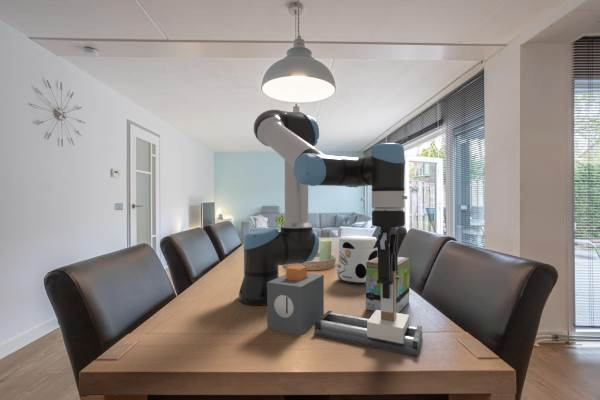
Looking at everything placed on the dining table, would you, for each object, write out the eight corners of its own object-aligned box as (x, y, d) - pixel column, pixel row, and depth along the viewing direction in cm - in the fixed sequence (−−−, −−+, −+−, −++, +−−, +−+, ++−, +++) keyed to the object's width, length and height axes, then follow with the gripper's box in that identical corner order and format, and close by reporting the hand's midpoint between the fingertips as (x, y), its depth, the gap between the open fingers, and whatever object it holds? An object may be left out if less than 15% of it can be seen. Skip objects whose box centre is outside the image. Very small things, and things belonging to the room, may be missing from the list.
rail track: (314, 334, 76) (314, 322, 76) (329, 320, 85) (329, 309, 85) (417, 356, 65) (417, 342, 65) (422, 338, 74) (422, 325, 74)
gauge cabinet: (266, 328, 80) (266, 282, 80) (293, 311, 93) (292, 271, 93) (300, 336, 76) (300, 287, 76) (323, 316, 88) (323, 274, 88)
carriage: (366, 336, 71) (366, 274, 71) (376, 322, 79) (376, 266, 79) (403, 343, 67) (402, 277, 67) (409, 328, 75) (409, 269, 75)
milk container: (328, 281, 127) (327, 237, 127) (354, 274, 139) (353, 234, 139) (362, 290, 115) (362, 241, 115) (388, 281, 126) (388, 237, 126)
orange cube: (286, 282, 83) (286, 268, 84) (293, 279, 87) (293, 265, 87) (300, 284, 82) (299, 269, 82) (306, 281, 85) (306, 266, 85)
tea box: (398, 316, 89) (398, 264, 89) (364, 309, 94) (364, 261, 94) (410, 301, 101) (410, 256, 101) (380, 296, 107) (379, 253, 107)
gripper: (398, 210, 64) (399, 323, 64) (409, 208, 79) (410, 301, 79) (363, 210, 68) (363, 317, 68) (379, 208, 82) (380, 297, 82)
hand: (388, 308), depth 73 cm, fingers closed on carriage, 3 cm apart
